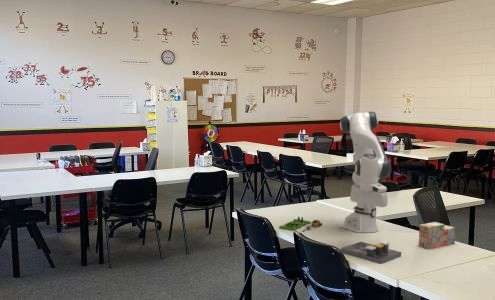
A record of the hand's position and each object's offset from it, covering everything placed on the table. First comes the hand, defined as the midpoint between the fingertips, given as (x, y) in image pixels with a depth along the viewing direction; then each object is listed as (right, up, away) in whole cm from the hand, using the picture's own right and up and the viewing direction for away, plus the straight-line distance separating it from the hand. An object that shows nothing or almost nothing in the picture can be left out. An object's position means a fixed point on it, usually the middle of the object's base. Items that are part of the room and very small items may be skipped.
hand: (367, 212), depth 246 cm
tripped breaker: (+5, -19, -3) cm, 20 cm away
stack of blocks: (+42, -20, +17) cm, 49 cm away
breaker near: (0, -19, -7) cm, 21 cm away
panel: (+2, -21, 0) cm, 21 cm away
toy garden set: (-28, -16, +53) cm, 62 cm away
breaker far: (+9, -19, +1) cm, 21 cm away
